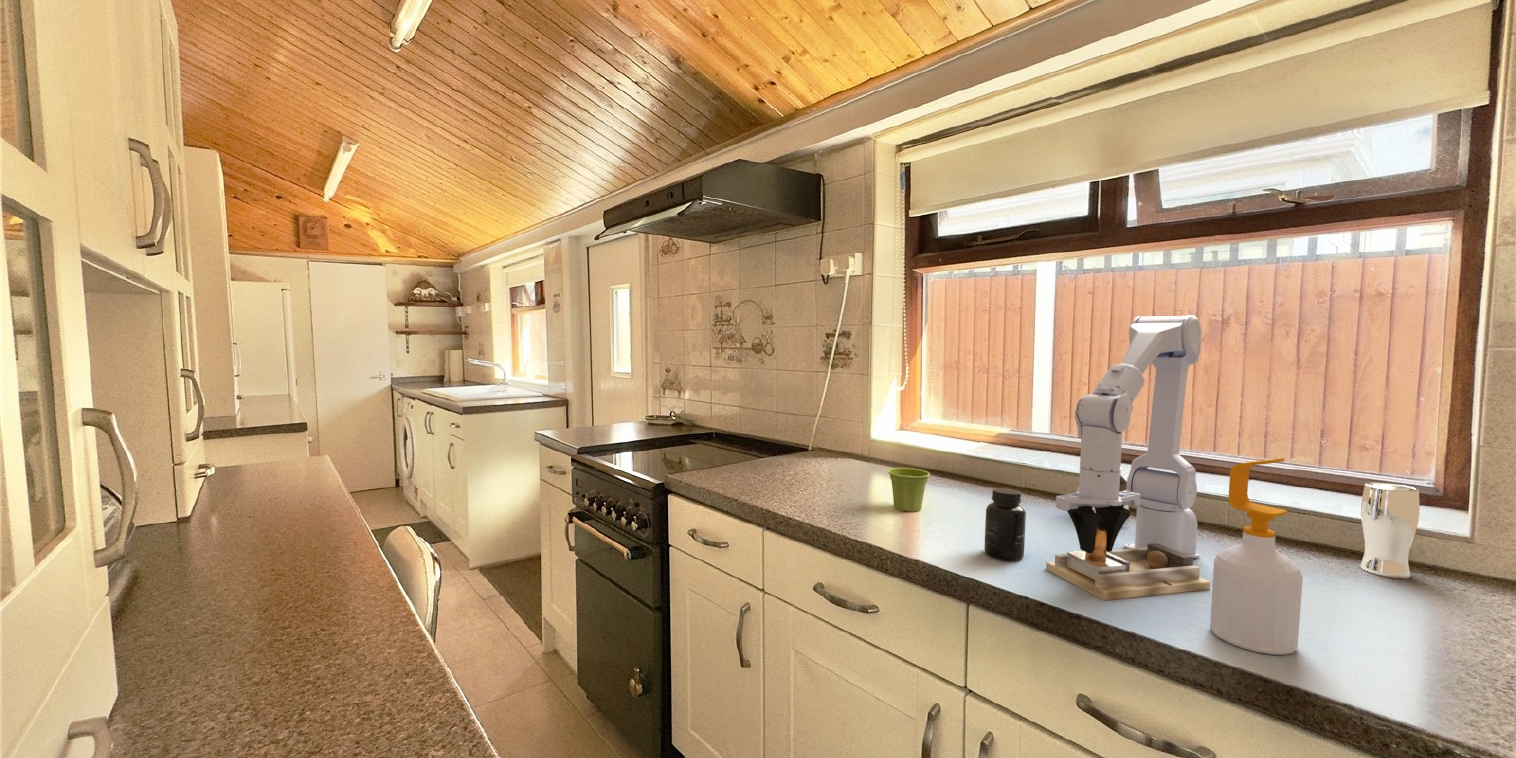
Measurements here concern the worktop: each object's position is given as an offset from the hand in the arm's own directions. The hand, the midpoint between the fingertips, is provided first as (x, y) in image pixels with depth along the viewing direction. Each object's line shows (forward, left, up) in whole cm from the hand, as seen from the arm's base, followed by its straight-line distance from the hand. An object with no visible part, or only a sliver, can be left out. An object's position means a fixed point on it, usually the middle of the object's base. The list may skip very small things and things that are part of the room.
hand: (1095, 550), depth 101 cm
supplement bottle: (+7, -14, -5) cm, 17 cm away
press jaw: (0, 0, -4) cm, 4 cm away
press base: (-6, 0, -5) cm, 8 cm away
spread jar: (-29, -29, -6) cm, 41 cm away
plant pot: (+10, -46, -5) cm, 47 cm away
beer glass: (-53, +7, -5) cm, 54 cm away
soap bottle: (-6, +21, -5) cm, 22 cm away
